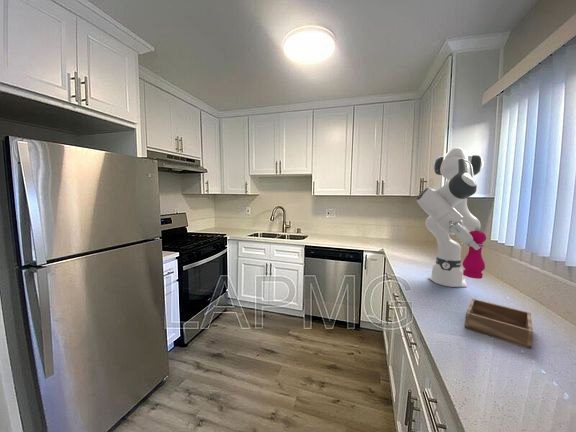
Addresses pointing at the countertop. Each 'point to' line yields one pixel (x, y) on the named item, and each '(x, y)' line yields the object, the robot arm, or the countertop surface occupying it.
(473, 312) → the tray
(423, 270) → the countertop surface
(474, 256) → the pepper mill
